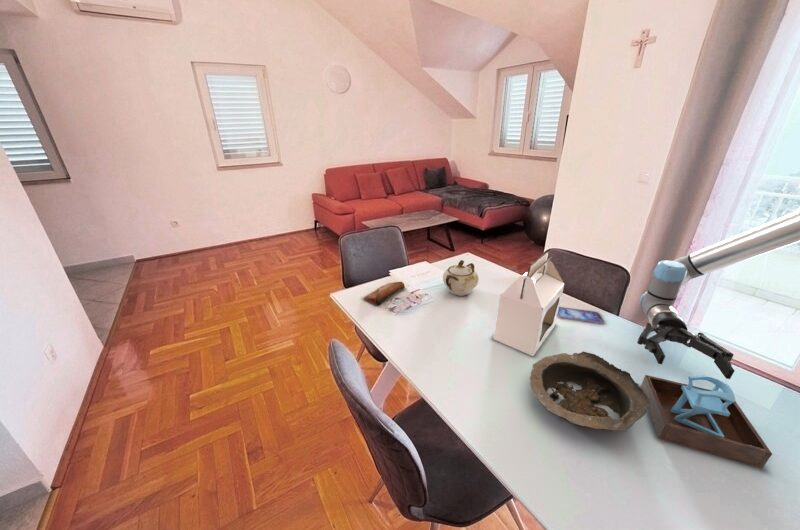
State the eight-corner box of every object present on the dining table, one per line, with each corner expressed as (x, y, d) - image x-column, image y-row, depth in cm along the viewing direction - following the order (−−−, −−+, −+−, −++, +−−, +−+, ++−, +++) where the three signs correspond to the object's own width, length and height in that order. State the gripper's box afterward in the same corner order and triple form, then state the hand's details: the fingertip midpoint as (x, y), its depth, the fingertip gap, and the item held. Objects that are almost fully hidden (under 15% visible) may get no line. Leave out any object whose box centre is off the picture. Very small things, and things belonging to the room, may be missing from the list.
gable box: (532, 357, 97) (549, 276, 86) (492, 340, 105) (503, 264, 93) (554, 326, 112) (571, 253, 101) (518, 313, 120) (530, 244, 109)
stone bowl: (656, 416, 77) (668, 389, 72) (600, 477, 65) (610, 449, 61) (562, 358, 96) (567, 334, 91) (506, 397, 84) (509, 371, 80)
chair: (666, 403, 79) (683, 366, 75) (707, 413, 77) (728, 375, 72) (677, 428, 73) (697, 389, 68) (723, 440, 70) (747, 400, 65)
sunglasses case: (390, 283, 142) (395, 273, 138) (400, 294, 140) (406, 284, 136) (362, 299, 129) (367, 289, 125) (373, 311, 127) (379, 301, 123)
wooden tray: (722, 409, 79) (731, 394, 77) (761, 470, 65) (772, 454, 63) (639, 388, 85) (645, 374, 83) (658, 439, 71) (665, 424, 69)
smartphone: (555, 306, 123) (598, 312, 119) (555, 308, 123) (597, 314, 119) (558, 316, 116) (604, 322, 112) (558, 318, 117) (603, 324, 113)
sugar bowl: (460, 306, 125) (463, 272, 119) (431, 293, 135) (432, 261, 129) (486, 289, 138) (490, 258, 132) (458, 279, 147) (460, 249, 141)
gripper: (713, 342, 93) (754, 393, 75) (615, 323, 102) (631, 365, 84) (724, 320, 90) (769, 368, 72) (622, 303, 99) (639, 342, 81)
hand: (695, 367), depth 78 cm, fingers open, 13 cm apart
